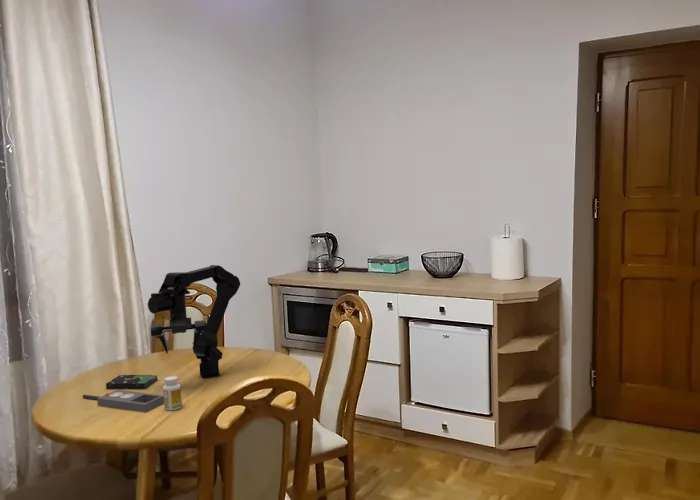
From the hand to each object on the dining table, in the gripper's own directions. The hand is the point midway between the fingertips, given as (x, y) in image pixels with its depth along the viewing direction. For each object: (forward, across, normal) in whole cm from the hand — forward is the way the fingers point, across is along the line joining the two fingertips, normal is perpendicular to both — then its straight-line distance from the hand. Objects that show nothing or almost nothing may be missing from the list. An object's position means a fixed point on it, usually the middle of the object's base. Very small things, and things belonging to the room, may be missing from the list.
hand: (180, 351), depth 224 cm
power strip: (+12, -21, -11) cm, 27 cm away
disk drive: (+13, -18, +8) cm, 23 cm away
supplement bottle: (+12, -3, -24) cm, 27 cm away
